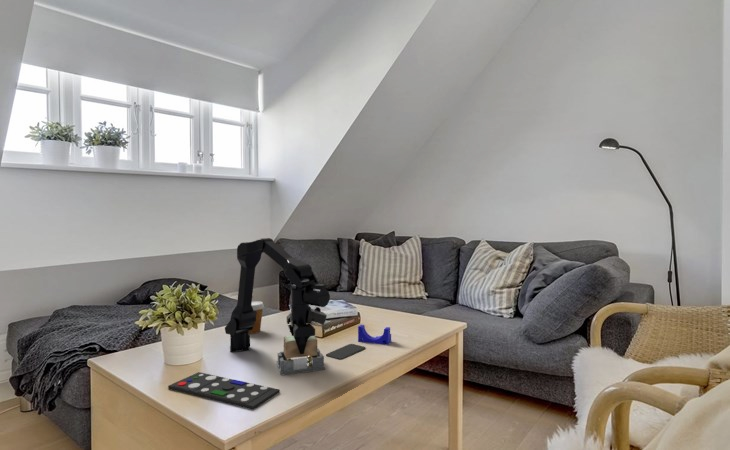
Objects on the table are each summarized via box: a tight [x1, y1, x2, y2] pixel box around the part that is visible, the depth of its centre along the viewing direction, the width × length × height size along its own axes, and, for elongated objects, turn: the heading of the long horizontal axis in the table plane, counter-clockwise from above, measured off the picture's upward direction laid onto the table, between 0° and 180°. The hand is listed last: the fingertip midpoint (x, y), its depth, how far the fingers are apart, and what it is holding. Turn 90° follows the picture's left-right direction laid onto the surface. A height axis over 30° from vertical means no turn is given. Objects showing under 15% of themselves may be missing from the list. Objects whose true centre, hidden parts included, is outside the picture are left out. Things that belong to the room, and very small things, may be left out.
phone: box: [325, 343, 366, 360], centre depth 151 cm, size 7×1×15 cm
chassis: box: [276, 348, 326, 376], centre depth 136 cm, size 14×10×4 cm
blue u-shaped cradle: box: [357, 324, 392, 346], centre depth 163 cm, size 12×4×6 cm, turn 70°
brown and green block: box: [283, 334, 318, 359], centre depth 136 cm, size 10×6×5 cm, turn 107°
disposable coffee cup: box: [248, 300, 265, 335], centre depth 176 cm, size 10×10×12 cm
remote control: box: [167, 371, 281, 411], centre depth 118 cm, size 11×30×2 cm, turn 65°
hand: (300, 350), depth 136 cm, fingers closed on brown and green block, 6 cm apart
